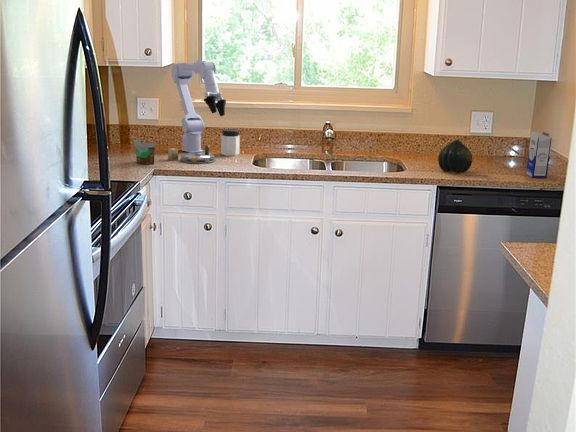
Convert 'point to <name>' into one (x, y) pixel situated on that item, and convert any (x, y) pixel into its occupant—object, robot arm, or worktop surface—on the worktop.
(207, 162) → the base plate
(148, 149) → the food container
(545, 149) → the milk carton
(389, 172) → the worktop surface
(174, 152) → the beige upright block
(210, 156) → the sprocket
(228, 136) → the jar
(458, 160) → the squash
